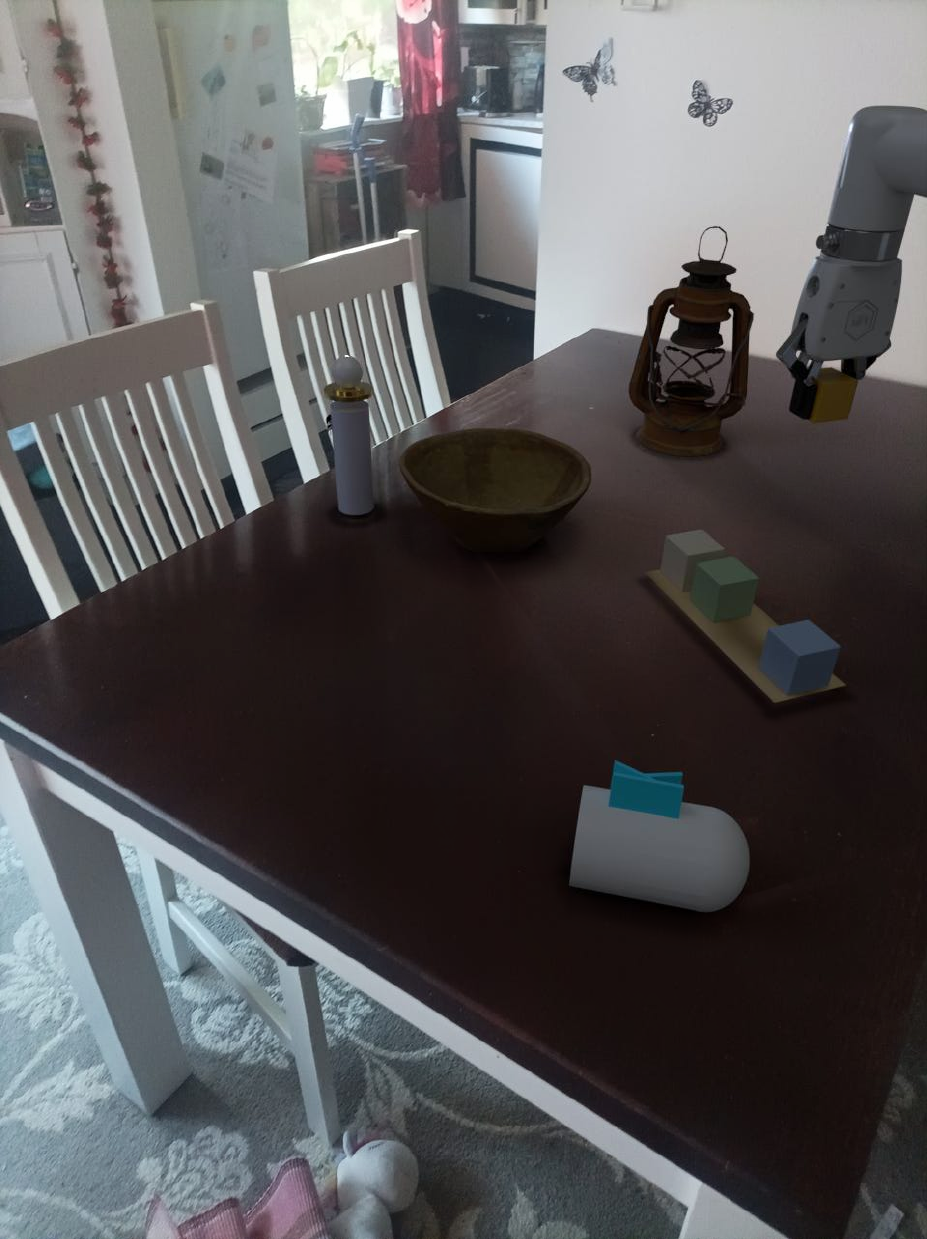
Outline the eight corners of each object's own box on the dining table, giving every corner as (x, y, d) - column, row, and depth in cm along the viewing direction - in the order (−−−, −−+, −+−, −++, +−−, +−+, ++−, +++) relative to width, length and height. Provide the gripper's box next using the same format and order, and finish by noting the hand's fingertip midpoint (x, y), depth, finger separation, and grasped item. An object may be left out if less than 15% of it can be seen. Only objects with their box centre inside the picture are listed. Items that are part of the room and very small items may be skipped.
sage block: (726, 592, 94) (733, 555, 92) (750, 615, 91) (759, 577, 88) (689, 599, 93) (696, 562, 90) (712, 623, 90) (720, 585, 87)
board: (704, 567, 101) (706, 560, 100) (843, 693, 82) (846, 685, 81) (643, 579, 98) (644, 571, 98) (772, 710, 80) (774, 702, 79)
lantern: (735, 428, 135) (777, 219, 118) (738, 462, 125) (784, 238, 108) (626, 417, 138) (651, 212, 121) (619, 450, 128) (646, 230, 111)
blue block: (797, 658, 85) (808, 619, 82) (828, 686, 81) (841, 646, 79) (757, 667, 84) (767, 627, 81) (787, 696, 80) (798, 656, 77)
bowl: (412, 596, 95) (410, 515, 89) (393, 501, 113) (391, 429, 108) (606, 582, 98) (616, 502, 92) (556, 492, 116) (562, 421, 111)
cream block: (695, 564, 99) (702, 529, 97) (717, 585, 96) (725, 548, 93) (659, 571, 98) (665, 535, 95) (681, 592, 94) (688, 555, 92)
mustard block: (822, 405, 103) (831, 366, 100) (847, 419, 99) (858, 379, 97) (789, 409, 102) (798, 370, 99) (813, 423, 98) (823, 383, 96)
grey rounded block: (769, 813, 56) (582, 781, 58) (745, 940, 58) (565, 905, 60) (748, 753, 67) (593, 728, 69) (729, 861, 69) (578, 834, 71)
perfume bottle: (387, 508, 112) (381, 353, 100) (361, 526, 108) (351, 367, 96) (351, 497, 114) (341, 345, 103) (324, 515, 110) (310, 358, 99)
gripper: (814, 257, 85) (775, 433, 95) (953, 247, 89) (901, 416, 100) (769, 241, 91) (736, 409, 101) (901, 233, 95) (857, 394, 106)
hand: (818, 411), depth 100 cm, fingers closed on mustard block, 4 cm apart
